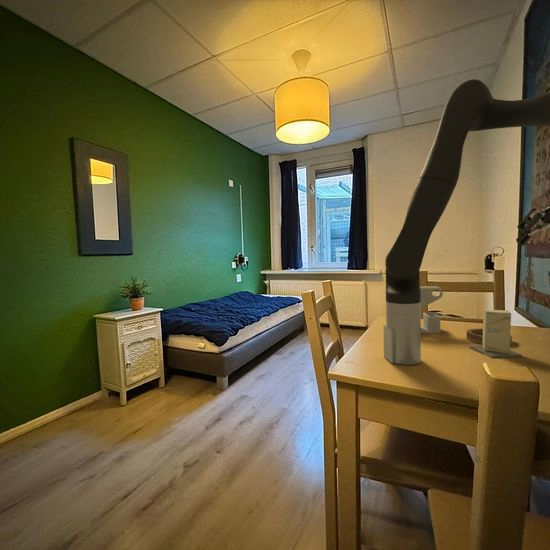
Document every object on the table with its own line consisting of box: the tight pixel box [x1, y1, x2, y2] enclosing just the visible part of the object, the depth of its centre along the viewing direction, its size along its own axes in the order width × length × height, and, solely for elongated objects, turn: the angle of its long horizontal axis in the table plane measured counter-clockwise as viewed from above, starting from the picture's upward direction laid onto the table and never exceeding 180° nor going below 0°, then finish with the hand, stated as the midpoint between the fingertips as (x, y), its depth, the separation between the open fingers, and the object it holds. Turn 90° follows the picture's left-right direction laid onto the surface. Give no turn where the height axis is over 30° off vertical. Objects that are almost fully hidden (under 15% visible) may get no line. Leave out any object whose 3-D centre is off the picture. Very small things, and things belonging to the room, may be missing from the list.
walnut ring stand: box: [466, 327, 513, 345], centre depth 100 cm, size 12×12×2 cm
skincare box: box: [481, 308, 512, 353], centre depth 88 cm, size 6×4×12 cm
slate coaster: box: [469, 345, 523, 358], centre depth 88 cm, size 9×9×1 cm
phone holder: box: [420, 285, 444, 334], centre depth 116 cm, size 17×10×18 cm, turn 77°
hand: (535, 243), depth 76 cm, fingers open, 8 cm apart
